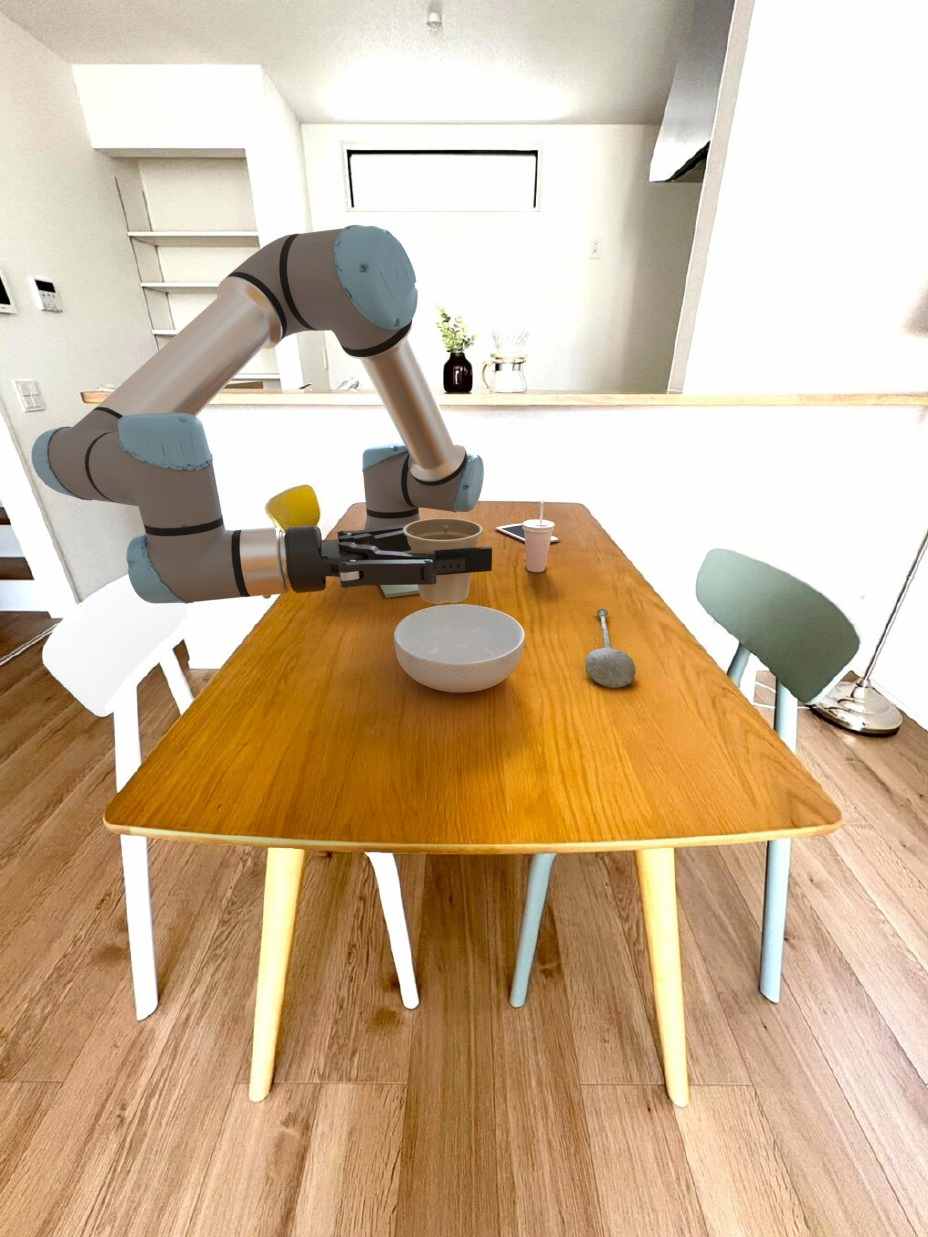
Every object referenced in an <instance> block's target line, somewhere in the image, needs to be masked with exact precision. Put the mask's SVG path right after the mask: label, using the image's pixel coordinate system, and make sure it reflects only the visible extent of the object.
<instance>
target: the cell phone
mask: <svg viewBox="0 0 928 1237" xmlns="http://www.w3.org/2000/svg"><path fill="white" fill-rule="evenodd" d="M522 527H523V523H514V524H508V525H502V526H497V527H496V528H495V531H499V532H500V533H503V534H506V535H508V536H510V537H512V538H515V539H517V540H519V541H521V542H524V543H525V536H524V529H523V528H522ZM558 541H559V538H557V537H556V536H553V535H552V536H551V541H550V544H552V543H557V542H558Z"/></svg>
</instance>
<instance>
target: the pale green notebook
mask: <svg viewBox="0 0 928 1237" xmlns="http://www.w3.org/2000/svg"><path fill="white" fill-rule="evenodd" d="M379 587H380V589H381V591H382V593H383V595H384V597H385V598H386V599H390V598H397V597H406V596H415V595H420V594H419V589H418V585H379Z"/></svg>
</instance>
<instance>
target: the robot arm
mask: <svg viewBox="0 0 928 1237" xmlns="http://www.w3.org/2000/svg"><path fill="white" fill-rule="evenodd" d="M416 283H417V275H416V272H415V269H414V266H413V263H412V260H411V258H410V255H409V253H408V251H407V249H406V248H405V246H404V244H403V243H402V241H401V240H400V239H399V238H398V237H397V236H396V235H395V234H394V233H393V232H392V231H390V230H389V229H386V228H384V227H382V226H378V225H362V224H351V225H347V226H345V227H342V228H335V229H325V230H317V231H311V232H309V231H308V232H303V233H292V234H291V233H290V234H286V235H283V236H281V237H278V238H276V239H275V240H273V241H271V242H269V243H267V244H265V245H264V246H263V247H261V248H260V249H258V250H257V251H256V252H254V253H253V254H252V255H250V256H249V257H248V258H247V259H245V260H244V261H243V262H242V263H240V264H239V265H238V266H237V267H236V268H235V269H234V270H232V271H231V272H230V273H229V274H228V275H227V276H226V277H225V278H223V279H222V280H221V281H220V282H219V284H218V286H217V290H216V298H215V300H213V301H212V302H211V303H210V304H209V305H208V306H206V307H205V308H204V309H203V310H202V311H201V312H199V313H198V315H196V317H194V318H193V319H192V320H191V321H190V322H189V323H188V324H186V325H185V326H184V327H183V328H182V329H181V330H180V331H179V332H178V333H176V335H174V336H173V337H172V338H171V339H169V341H168V342H167V343H165V344H164V346H162V347H161V348H160V349H159V350H158V351H156V352H155V353H154V354H153V355H152V356H151V357H150V358H149V359H148V360H146V362H144V364H142V365H141V366H140V367H139V368H138V369H137V370H135V371H134V372H133V373H132V374H131V375H130V376H129V377H128V378H127V379H125V380H124V381H123V382H122V383H121V384H120V385H119V386H118V387H117V388H116V389H115V390H113V391H112V392H111V393H110V394H109V395H108V396H107V397H106V398H104V399H103V401H101V402H99V404H98V405H96V406H95V407H94V408H93V409H92V410H91V411H89V412H88V413H87V414H86V415H85V416H84V417H82V418H81V419H80V420H79V421H77V422H76V424H75V425H73V426H68V425H67V426H60V427H58V428H52V429H48V430H46V431H44V432H43V433H41V434H40V435H39V436H38V437H37V438H36V439H35V441H34V443H33V445H32V448H31V464H32V467H33V469H34V471H35V473H36V475H37V476H38V478H39V479H40V480H41V481H42V482H43V483H44V485H45V486H47V487H49V489H51V490H53V491H55V492H57V493H60V494H63V495H66V496H69V497H73V498H76V499H79V500H81V501H82V500H83V501H98V502H107V503H113V504H120V505H125V506H126V505H127V506H133V507H137V508H138V510H139V513H140V518H141V521H142V524H143V528H144V534H143V535H138V536H135V537H133V538H132V539H131V540H130V542H129V544H128V546H127V549H126V563H127V566H128V568H127V575H128V579H129V582H130V584H131V587H132V589H133V590H134V592H135V594H136V595H137V596H138V597H139V598H140V599H142V601H144V602H146V603H149V604H154V605H155V604H186V605H189V604H193V603H199V602H208V601H218V600H229V599H236V598H237V599H238V598H251V597H262V598H263V599H265V600H268V599H270V598H272V596H274V595H283V594H284V595H286V594H287V593H288V592H289V590H290V589H292V591H293V592H294V593H296V594H303V593H315V592H317V593H318V592H323V591H325V590H326V588H327V577H330V578H331V577H332V578H333V577H335V578H339V581H340V587H341V588H345V589H346V588H354V587H361V586H380V585H429V584H430V585H433V584H436V583H437V580H436V575H448V574H460V573H472V574H473V573H484V572H492V571H493V569H492V568H493V548H492V546H478V547H477V546H476V548H462V549H450V550H434V554H435V555H434V554H424V553H412V551H411V547H410V546H409V544H408V540H407V536H405V535H404V533H403V529H404V527H405V526H406V525H408V524H410V523H412V522H415V521H419V520H421V517H420V510H419V508H421V509H429V510H437V511H444V512H452V513H468V512H470V511H472V510H473V509H474V508H475V507H476V505H477V504H478V501H479V500H480V497H481V493H482V489H483V486H484V476H485V467H484V460H483V458H482V456H481V455H480V454H476V453H474V452H472V453H467V450H466V448H465V445H464V443H463V441H462V440H461V439H460V438H459V437H458V436H456V435H455V434H451V431H450V429H449V427H448V424H447V422H446V420H445V417H444V415H443V412H442V410H441V407H440V405H439V402H438V399H437V398H436V395H435V393H434V390H433V388H432V386H431V383H430V380H429V378H428V376H427V373H426V370H425V368H424V366H423V363H422V361H421V358H420V356H419V354H418V351H417V349H416V346H415V344H414V342H413V339H412V337H411V334H410V333H411V331H412V329H413V326H414V317H415V314H416V312H417V308H418V302H419V301H418V300H419V290H418V288H416ZM310 331H311V332H312V331H314V332H318V331H319V332H322V331H323V332H324V331H325V332H326V331H327V332H328V331H331V333H333V334H334V336H335V338H336V339H337V342H338V343H339V345H340V347H341V348H342V350H343V351H344V353H345V354H346V355H347V356H349V357H350V358H352V359H357V360H359V361H360V363H361V364H362V366H363V368H364V370H365V372H366V374H367V376H368V377H369V379H370V381H371V383H372V385H373V388H374V389H375V391H376V393H377V395H378V397H379V399H380V400H381V402H382V404H383V406H384V408H385V410H386V412H387V414H388V416H389V417H390V420H391V422H392V423H393V425H394V427H395V429H396V431H397V433H398V435H399V437H400V439H401V440H402V442H398V443H397V442H396V443H391V444H383V445H376V446H372V447H369V448H367V449H365V450H364V451H363V453H362V468H361V472H362V476H363V487H364V499H365V500H364V501H365V510H366V511H365V512H366V518H365V519H366V520H365V524H364V526H363V529H357V530H338V531H337V532H336V535H337V538H335V539H328V540H323V537H322V531H321V528H320V527H319V526H318V525H314V524H313V525H298V526H297V525H296V526H288V528H286V529H285V531H283V530H282V529H281V528H280V527H278V526H276V527H275V526H273V527H260V528H247V529H235V530H231V529H226V527H225V521H224V517H223V516H224V515H223V513H222V507H221V502H220V497H219V496H220V495H219V490H218V485H217V481H216V474H215V469H214V458H213V453H212V452H211V450H210V447H209V444H208V439H207V435H206V431H205V428H204V425H203V423H202V421H201V419H199V418H198V415H200V413H201V412H202V411H203V410H204V409H205V408H206V407H207V406H208V405H209V404H210V403H211V402H212V401H213V400H214V399H215V398H216V397H217V396H218V395H219V394H220V393H221V392H222V390H224V389H225V387H226V386H227V385H228V384H229V383H230V382H231V381H232V380H233V379H234V378H235V377H236V376H237V375H238V374H239V373H240V372H241V371H242V370H243V369H244V368H245V367H246V366H247V365H248V363H250V362H251V361H252V360H253V358H254V357H255V356H256V355H258V353H260V351H261V350H262V349H263V350H269V349H273V348H275V347H277V345H279V344H280V343H281V341H283V339H285V338H286V337H290V336H291V335H294V334H299V333H302V332H310Z"/></svg>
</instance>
